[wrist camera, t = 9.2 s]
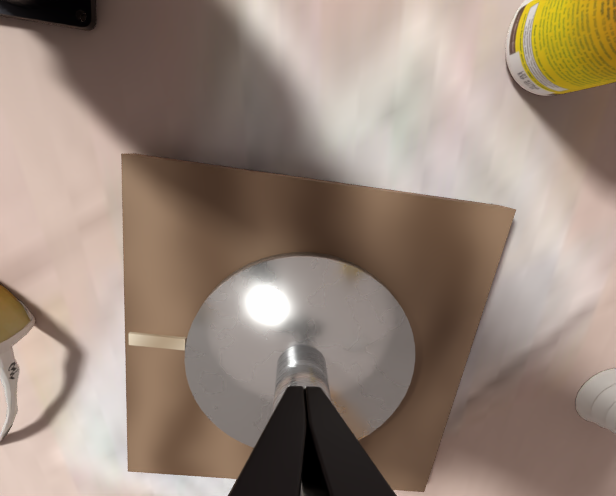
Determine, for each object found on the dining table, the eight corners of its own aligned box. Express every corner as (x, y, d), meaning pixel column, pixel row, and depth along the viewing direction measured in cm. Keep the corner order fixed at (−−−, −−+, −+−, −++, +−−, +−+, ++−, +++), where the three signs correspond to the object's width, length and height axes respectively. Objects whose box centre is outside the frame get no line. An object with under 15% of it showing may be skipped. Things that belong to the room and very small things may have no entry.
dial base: (137, 452, 24) (126, 473, 23) (135, 153, 18) (119, 153, 17) (416, 473, 26) (425, 494, 24) (500, 205, 20) (518, 210, 18)
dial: (186, 244, 18) (147, 277, 13) (428, 259, 19) (472, 295, 14) (193, 472, 23) (166, 557, 18) (385, 477, 24) (408, 559, 19)
